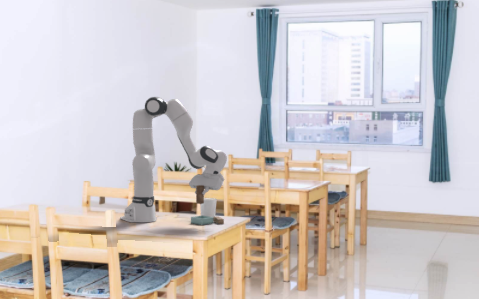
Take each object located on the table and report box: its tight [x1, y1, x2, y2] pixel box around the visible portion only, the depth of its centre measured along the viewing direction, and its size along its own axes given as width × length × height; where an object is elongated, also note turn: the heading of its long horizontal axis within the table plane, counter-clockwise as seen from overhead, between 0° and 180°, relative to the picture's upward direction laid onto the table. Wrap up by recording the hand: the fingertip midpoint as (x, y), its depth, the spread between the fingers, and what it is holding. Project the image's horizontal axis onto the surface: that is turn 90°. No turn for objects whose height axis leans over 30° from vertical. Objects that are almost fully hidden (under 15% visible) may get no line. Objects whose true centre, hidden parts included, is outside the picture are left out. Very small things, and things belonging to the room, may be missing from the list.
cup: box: [190, 215, 214, 226], centre depth 340 cm, size 9×9×4 cm
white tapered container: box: [199, 197, 217, 217], centre depth 356 cm, size 10×10×12 cm
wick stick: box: [195, 185, 205, 205], centre depth 334 cm, size 3×3×10 cm
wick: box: [213, 216, 225, 225], centre depth 344 cm, size 10×3×3 cm, turn 20°
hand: (199, 193), depth 333 cm, fingers closed on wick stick, 3 cm apart
